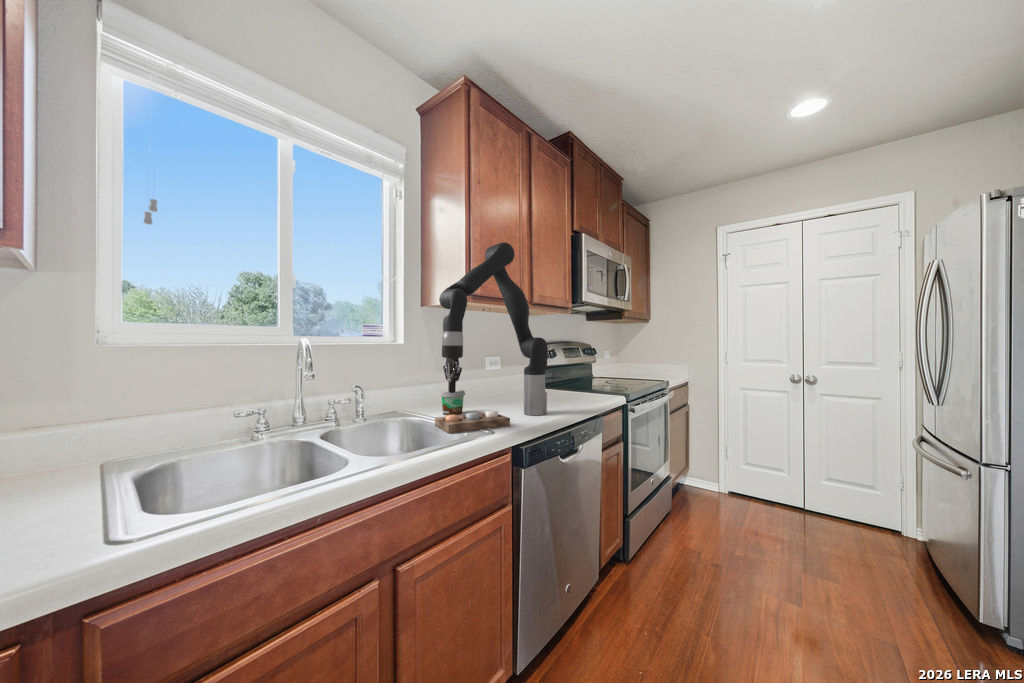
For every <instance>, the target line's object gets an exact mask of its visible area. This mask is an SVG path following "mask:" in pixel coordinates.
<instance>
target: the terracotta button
mask: <svg viewBox="0 0 1024 683" xmlns="http://www.w3.org/2000/svg"><path fill="white" fill-rule="evenodd" d="M459 415H460V414H459ZM459 415H444V417H445V421H446V422H455V421H459Z"/></svg>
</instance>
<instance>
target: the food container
mask: <svg viewBox="0 0 1024 683" xmlns="http://www.w3.org/2000/svg"><path fill="white" fill-rule="evenodd" d="M465 396H466V392H465V390H464V389H462V388H460V389H459V390H458V391H457V390H456V392H455V393H450V392H448V391H441V393H440V397H441V404H442V405H441V406H442V408H441V409H442V415H443V416H446V415H463V408H464V406H463V405H464V397H465Z"/></svg>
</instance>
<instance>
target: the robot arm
mask: <svg viewBox="0 0 1024 683" xmlns="http://www.w3.org/2000/svg"><path fill="white" fill-rule="evenodd" d="M515 256H516V255H515V250H514V247H513V246H512V244H510V243H509V242H505V241H504V242H499V243H496V244H493V245H491V246H489V247H487V248H486V250H485V253H484V258H485V260H484V261H483V262H482V263H480V264H478V265H477V266H475V267H474V268H472V269H471V270H469V271H468V272H467V273H465V275H463V276H462V277H461V278H460V279H459V280H458V281H457V282H455V283H453V284H451V285H450V286H449V287H447V288H445V289H444V290H443V291H442V292H441V293H440V295H439V300H438V301H439V304H440V306H441V307H442V308H443V309H446V310H449V313H448V314H447V315H445V316H444V317H443V320H442V338H441V357H442V358H444V359H445V364H444V365H443V367H442V369H443V372H444V378H445V380H446V381H447V383H448V389H447V392H450V393H455V392H457V390H456V389H457V388H456V386H457V385H456V383H457V382H458V381H459V380H460V376H461V374H462V371H463V370H462V369H463V368H462V367H460V360H459V359H461V358H463V356H464V334H463V332H464V331H463V324H464V323H463V322H464V317H465V314H466V309H467V306H468V297H470V296H472V295H473V294H474V293H476V291H478V290H479V289H480V287H482V286H483V285H484V284H485V283H486V282H487V281H488V280H489V279H490V278H491V277H493V278H494V280H495V282H496V285H497V287H498V290H499V291H500V294H501V297H502V300H503V304H505V305H504V306H505V308H506V311H507V313H508V315H509V318H510V320H511V323H512V327H513V329H514V331H515V335H516V338H517V341H518V343H517V344H518V345H519V350H520V352H521V354H522V355H523V357H525V358H527V359H529V364H528V365H527V366H525V367H524V368H523V414H524V415H526V416H542V415H545V414H548V392H547V391H546V370H547V366H548V356H549V346H548V343H547V341H546V339H545V338H543V337H538V336H537V337H534V336H533V334H532V331H531V329H530V328H531V327H530V325H529V320H530V319H529V318H530V306H529V303H528V300H527V297H526V295H525V293H524V291H523V290H522V288H521V287H520V286H519V285H518V284H517V283H515V282H514V280H512V278H511V277H510V275H509V273H508V271H507V269H506V266H508V265H510V264H511V263H513V261H514V259H515Z"/></svg>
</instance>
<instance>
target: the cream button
mask: <svg viewBox="0 0 1024 683" xmlns="http://www.w3.org/2000/svg"><path fill="white" fill-rule="evenodd" d="M484 413H485V417H487V418H493V417H498V414H499V411H497V410H487V411H485V412H484Z"/></svg>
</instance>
